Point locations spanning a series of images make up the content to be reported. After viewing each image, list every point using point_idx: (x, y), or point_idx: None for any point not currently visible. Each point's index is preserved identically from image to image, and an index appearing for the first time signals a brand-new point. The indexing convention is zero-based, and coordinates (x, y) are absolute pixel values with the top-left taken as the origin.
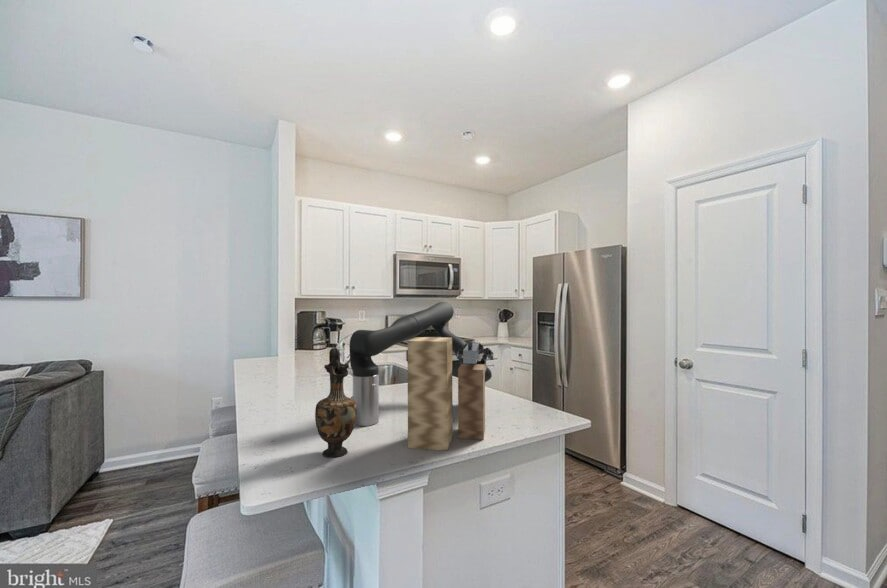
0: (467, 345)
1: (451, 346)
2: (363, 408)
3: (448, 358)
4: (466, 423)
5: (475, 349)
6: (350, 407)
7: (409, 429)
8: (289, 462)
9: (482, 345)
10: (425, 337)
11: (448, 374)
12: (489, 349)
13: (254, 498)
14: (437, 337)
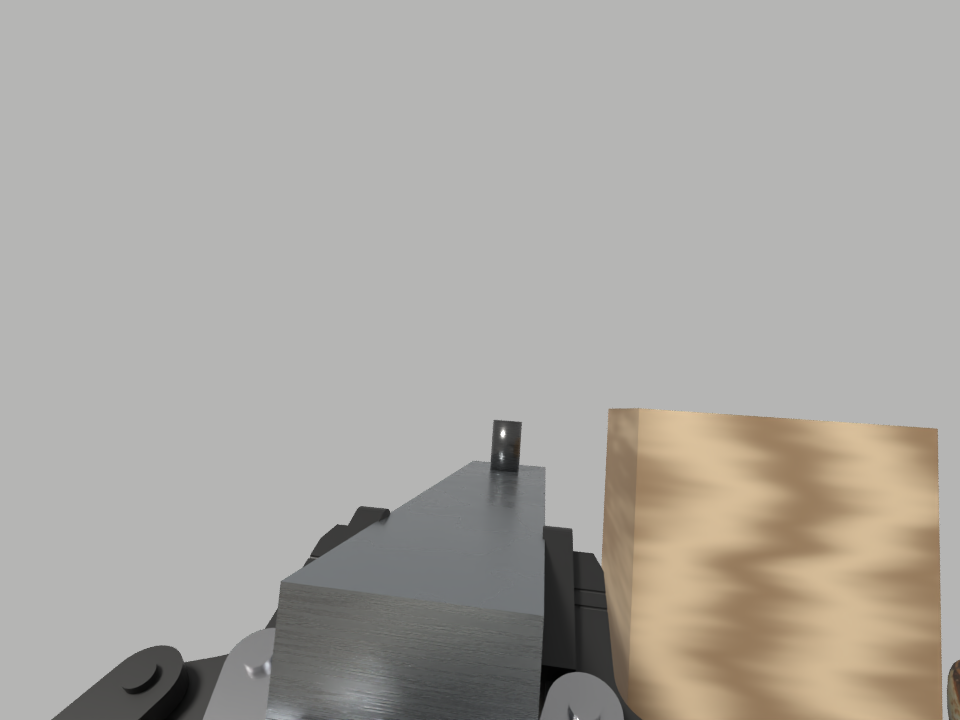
0: (535, 505)
1: (631, 464)
2: None
3: (610, 497)
4: None
5: (472, 466)
6: (951, 679)
7: None
8: None
9: (336, 531)
10: (840, 422)
11: (606, 578)
12: (67, 716)
13: None
14: (751, 416)
